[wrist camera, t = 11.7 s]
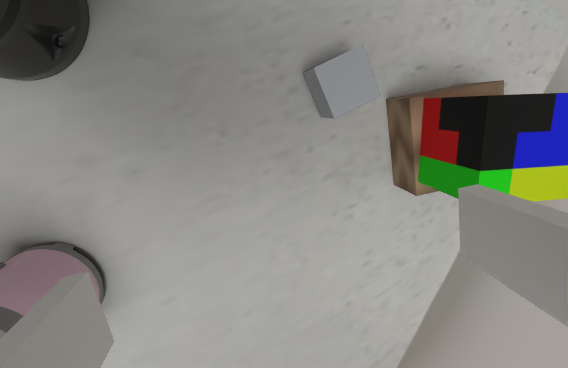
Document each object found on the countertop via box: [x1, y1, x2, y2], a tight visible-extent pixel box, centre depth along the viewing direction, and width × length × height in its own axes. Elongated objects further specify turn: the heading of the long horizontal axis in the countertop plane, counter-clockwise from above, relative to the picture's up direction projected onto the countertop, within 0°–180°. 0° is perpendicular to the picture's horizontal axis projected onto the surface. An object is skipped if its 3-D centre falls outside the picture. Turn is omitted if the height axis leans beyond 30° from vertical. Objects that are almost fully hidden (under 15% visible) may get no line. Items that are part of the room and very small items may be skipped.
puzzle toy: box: [418, 93, 568, 201], centre depth 34 cm, size 10×10×10 cm
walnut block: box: [386, 80, 504, 196], centre depth 42 cm, size 12×12×6 cm
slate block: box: [303, 44, 381, 119], centre depth 39 cm, size 6×6×6 cm
